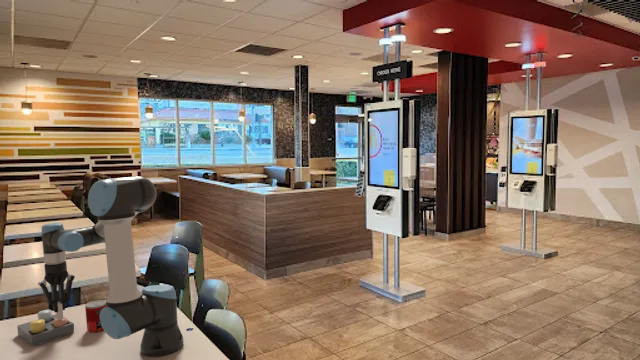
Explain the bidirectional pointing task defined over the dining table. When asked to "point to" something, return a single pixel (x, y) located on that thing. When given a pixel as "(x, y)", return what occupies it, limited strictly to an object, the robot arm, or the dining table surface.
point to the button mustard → (37, 326)
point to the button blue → (45, 315)
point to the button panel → (44, 332)
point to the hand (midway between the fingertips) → (60, 318)
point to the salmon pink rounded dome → (60, 322)
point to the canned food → (94, 315)
